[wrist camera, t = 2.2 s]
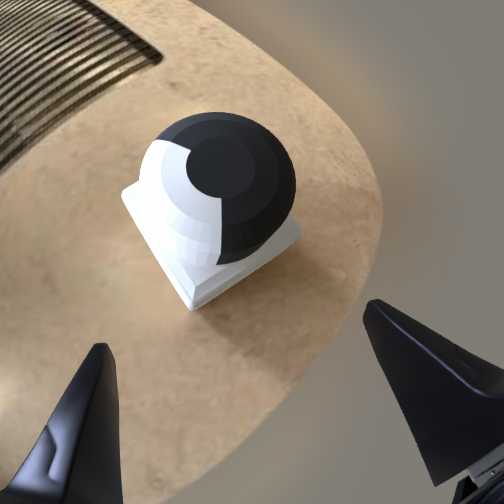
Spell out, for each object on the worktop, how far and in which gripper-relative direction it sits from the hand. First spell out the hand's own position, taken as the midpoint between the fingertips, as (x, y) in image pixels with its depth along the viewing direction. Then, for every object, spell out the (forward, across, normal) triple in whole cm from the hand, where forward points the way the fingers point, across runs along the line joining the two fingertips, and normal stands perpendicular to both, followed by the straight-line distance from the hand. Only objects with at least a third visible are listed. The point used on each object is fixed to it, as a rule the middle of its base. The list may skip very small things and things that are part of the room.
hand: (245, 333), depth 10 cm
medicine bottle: (+13, 0, +5) cm, 14 cm away
